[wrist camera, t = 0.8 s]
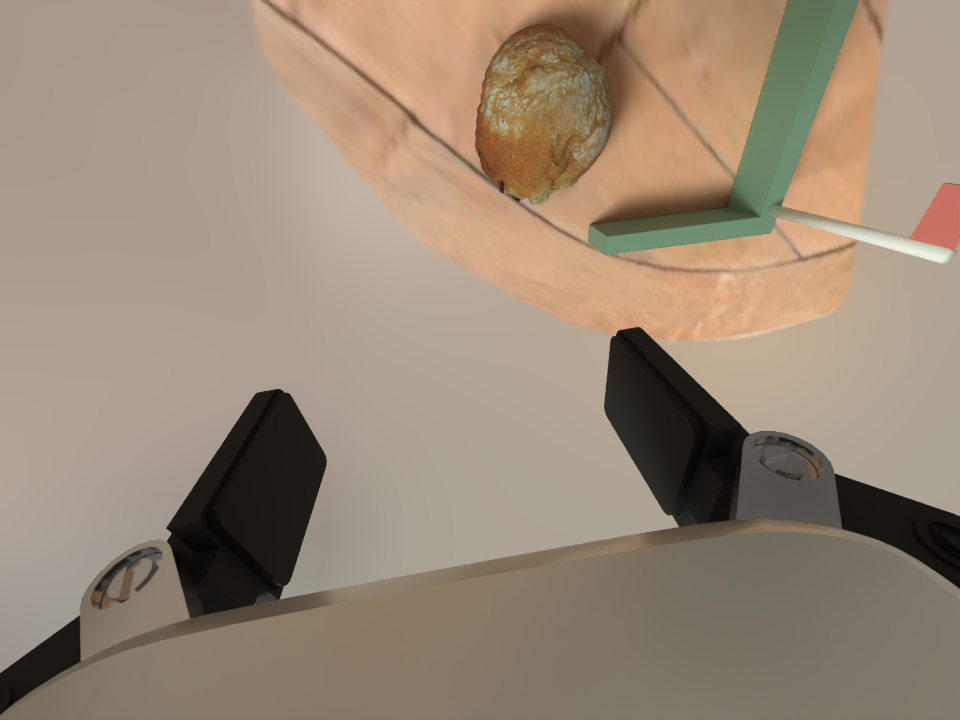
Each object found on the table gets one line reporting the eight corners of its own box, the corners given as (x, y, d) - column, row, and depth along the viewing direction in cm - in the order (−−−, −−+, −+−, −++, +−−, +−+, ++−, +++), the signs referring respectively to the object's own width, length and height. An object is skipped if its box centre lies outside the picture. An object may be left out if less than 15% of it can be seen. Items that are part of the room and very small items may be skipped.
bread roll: (592, 113, 30) (664, 52, 22) (550, 228, 31) (606, 207, 23) (489, 46, 27) (534, -52, 19) (446, 176, 28) (472, 132, 20)
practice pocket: (614, -68, 22) (892, -357, 9) (835, -89, 22) (1418, -391, 9) (587, 241, 32) (692, 323, 19) (737, 222, 33) (937, 289, 20)
